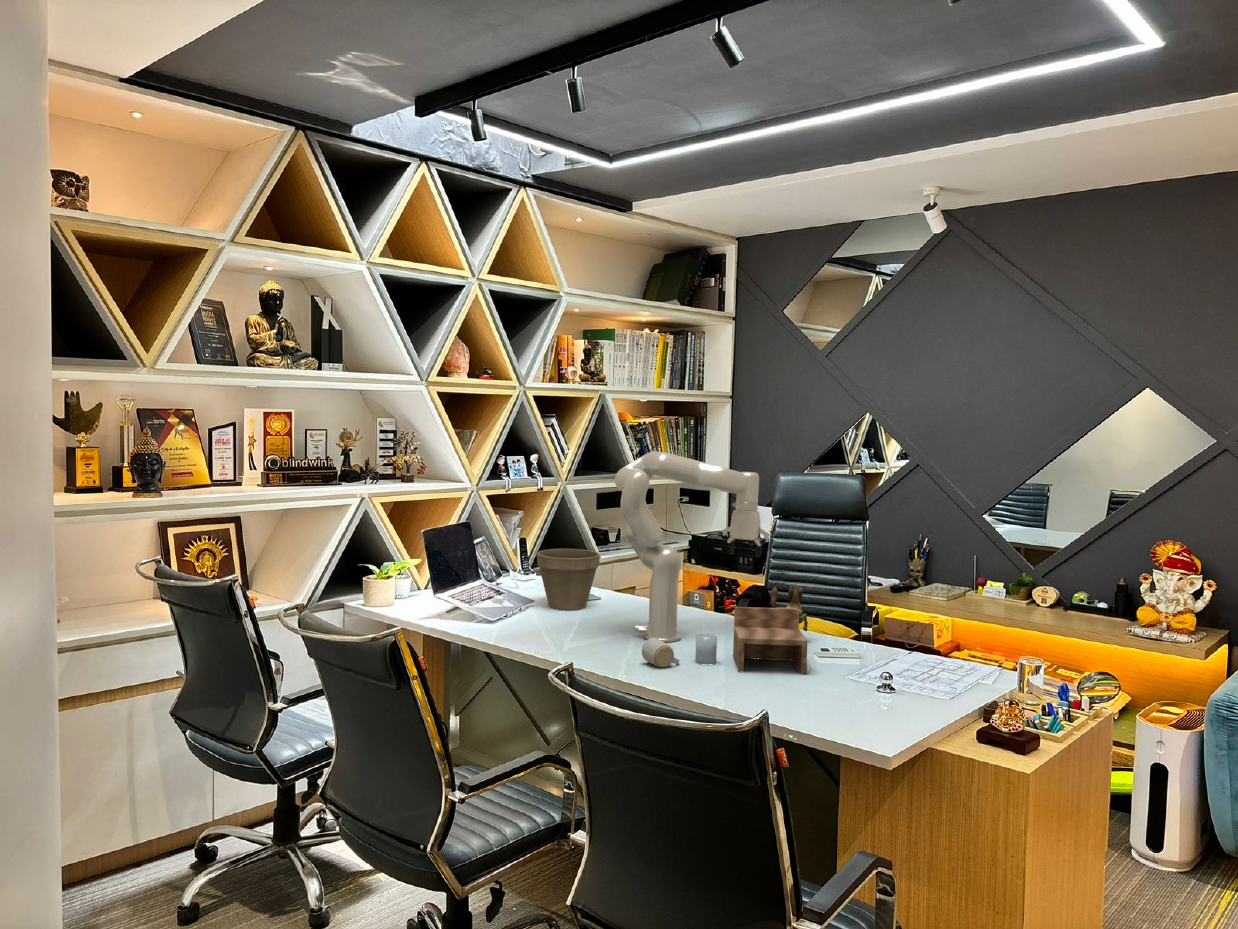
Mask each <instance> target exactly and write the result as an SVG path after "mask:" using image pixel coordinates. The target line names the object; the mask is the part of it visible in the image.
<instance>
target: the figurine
mask: <svg viewBox="0 0 1238 929" xmlns="http://www.w3.org/2000/svg"><path fill="white" fill-rule="evenodd" d="M787 594H788V595H787V599H788V600H789V602H788V605H787V606H777V600H778V597H779V591H778V589H777V586H773V588H771V592H770V595H771V596H770V597H771V600H770V602H771V605H770V606H771V608H786V609H799V625H800V624H802V623H803V624H804V625H803V628H802V629H803V631H805V632H807V631H808V623H809V622H808V616H807V615H808V614H806V613H803V607H802V604H801V602H802V599H803V596H804V595H803V594H804V590H803V588H802V587H801V586H800V585H798V584H796V583H794V584H790V586H789V589H788V592H787Z"/></svg>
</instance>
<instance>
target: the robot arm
mask: <svg viewBox="0 0 1238 929" xmlns="http://www.w3.org/2000/svg"><path fill="white" fill-rule="evenodd" d="M653 477H658V478H664V479H668V480H672V481H675V482H679V483H680V482H681V483H683V484H687V485H692V486H697V487H707V488H712V489H717V490H719V491H721V492H722V493H723V492H724V493H731V494H736V499H735V502H732V503H731V505H732V507H733V508H735V510H733V512H732V513H731V514H732V515H731V520H730V526H728V527H725V528H723V529H722V530H721V533H722V536H723V538H724V540H725V541H726V542H727V547H728V548H727V552H728V555H733V554H734V553H735V552H734V551H735V543H734V541H735V540H743V541H753V542H755V544H756V546H755V551H754V552H755V554H754V555H755V556H754V557H755V558H760V556H761V555H762V546H763V545H764V544H766V542H767V541H768V539H769V538H770V533H768V532H767V531H766V530H765V529H762V528H761V517H760V516H761V515H760V511H758V507H759V506H758V505H759V490H760V487H759V485H760V476H759V473H758V472H753V471H738V470H734V469H730V468H726V467H723V466H718V465H714V464H710V463H707V462H704V461H700V460H697V459H693V458H688V457H684V456H681V455H677V454H673V453H669V452H664V451H650V452H647V453H645V454H643V455H642V456H640V457H638V458H637V459H635V460H633V461H632V462H630V463H628V464H626V465H625V466H623V467H622V468H620V469H619V470H618V471H617V472H616V474H615V476H614V485H615V487H616V488H617V489H618V490H619V491H621V497H620V510H621V513H622V515H623V516H624V519H625V521H626V522H627V525H626V528H625V535H626V538H627V540H628V542H629V544H630V546H631V547H632V548H633V550H634V552H635V554H636V555H637V557H638V558H639V560H640V562H641V563H642V564H643V565H644V566H645V568H647V569H648V570H651V571H652V572H651V576H650V577H651V578H650V581H649V604H648V605H649V607H648V608H649V610H648V623H647V624H645V625H638V624H637V625H635V632H638V633H644V634H643V638H644V639H645V640H646V641H647V640H648V639H650V638H658V639H660V640H661V641H663V642H664V643H672V642H673V643H674V642H678V641H680V640H681V639H682V635H681V634H680V633H678V632H677V628H678V626H677V625H678V624H677V623H678V594H679V593H678V591H679V590H678V589H679V578H680V572H681V565H682V564H681V563H682V560H681V556H680V553H679V552H678V551H677V549H675V548H673V547H672V546H669V545H668V544H667V545H666V544H663V543H662V541H663V531H662V528H661V526H660V525H659V523H658V522H657V520H656V519H655V517H654V515H653V514H652V512H651V511H650V508H649V506H648V504H647V501H646V498H647V496H646V495H647V492H648V489H649V487H650V479H652V478H653ZM728 532H729V534H728ZM761 535H763V538H762V539H761Z"/></svg>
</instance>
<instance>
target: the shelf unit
mask: <svg viewBox="0 0 1238 929" xmlns="http://www.w3.org/2000/svg"><path fill="white" fill-rule="evenodd" d="M733 615H734V617H733V618H734V621H733V645H732V646H733V647H732V648H733V649H732V652H733V653H732V659H733V658H734V659H733V661H734V665H735V666H736V670H737V669H738V670H737V672H738V671H743V672H744V666H745V665H744V663H745V661H744V660H745V659H744V658H756V659H755V660H766V659H778V660H777V661H792V662H793V661H794V662H793V663H794V665H795V664H796V665H795V667H796V668H797V667H798V668H797V669H799V670H798V671H799V673H800V675H807V667H808V666H807V665H808V640H807V638H806V637H805V635H804V634H803V632H802V631H801V630H800V629H799V628H800V624H799V609H786V608H777V607H776V608H772V607H755V606H754V607H750V606H734V612H733ZM757 658H759V659H757Z"/></svg>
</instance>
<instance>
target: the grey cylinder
mask: <svg viewBox="0 0 1238 929" xmlns="http://www.w3.org/2000/svg"><path fill="white" fill-rule="evenodd" d="M717 646H718V636H717V635H716V634H715V635H714V634H709V633H700V634H697V635H695V657H694V659H695V664H697V665H702V664H707V665H706V666H709V665H708V664H713V665H716V664H717V649H718V647H717Z"/></svg>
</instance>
